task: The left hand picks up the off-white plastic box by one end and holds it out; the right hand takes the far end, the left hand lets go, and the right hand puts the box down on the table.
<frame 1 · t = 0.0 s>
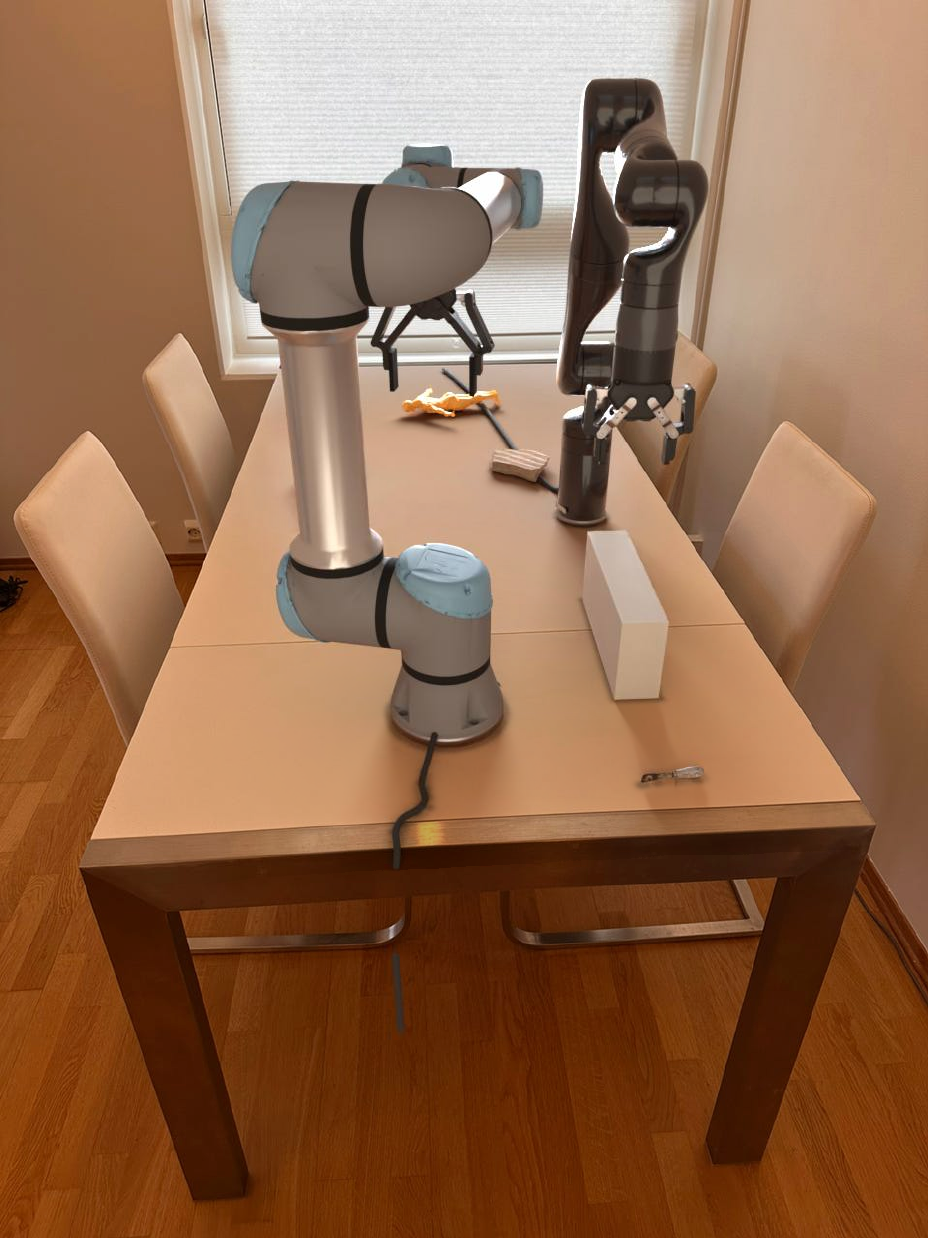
left hand: (433, 391, 149), 28 cm above the table, tool pointing down, fingers open, 13 cm apart
right hand: (632, 462, 119), 29 cm above the table, tool pointing down, fingers open, 8 cm apart
box: (617, 645, 135), on the table
stone: (519, 470, 192), on the table
putty knife: (671, 781, 109), on the table
human figure: (450, 410, 226), on the table
handgun: (337, 489, 184), on the table
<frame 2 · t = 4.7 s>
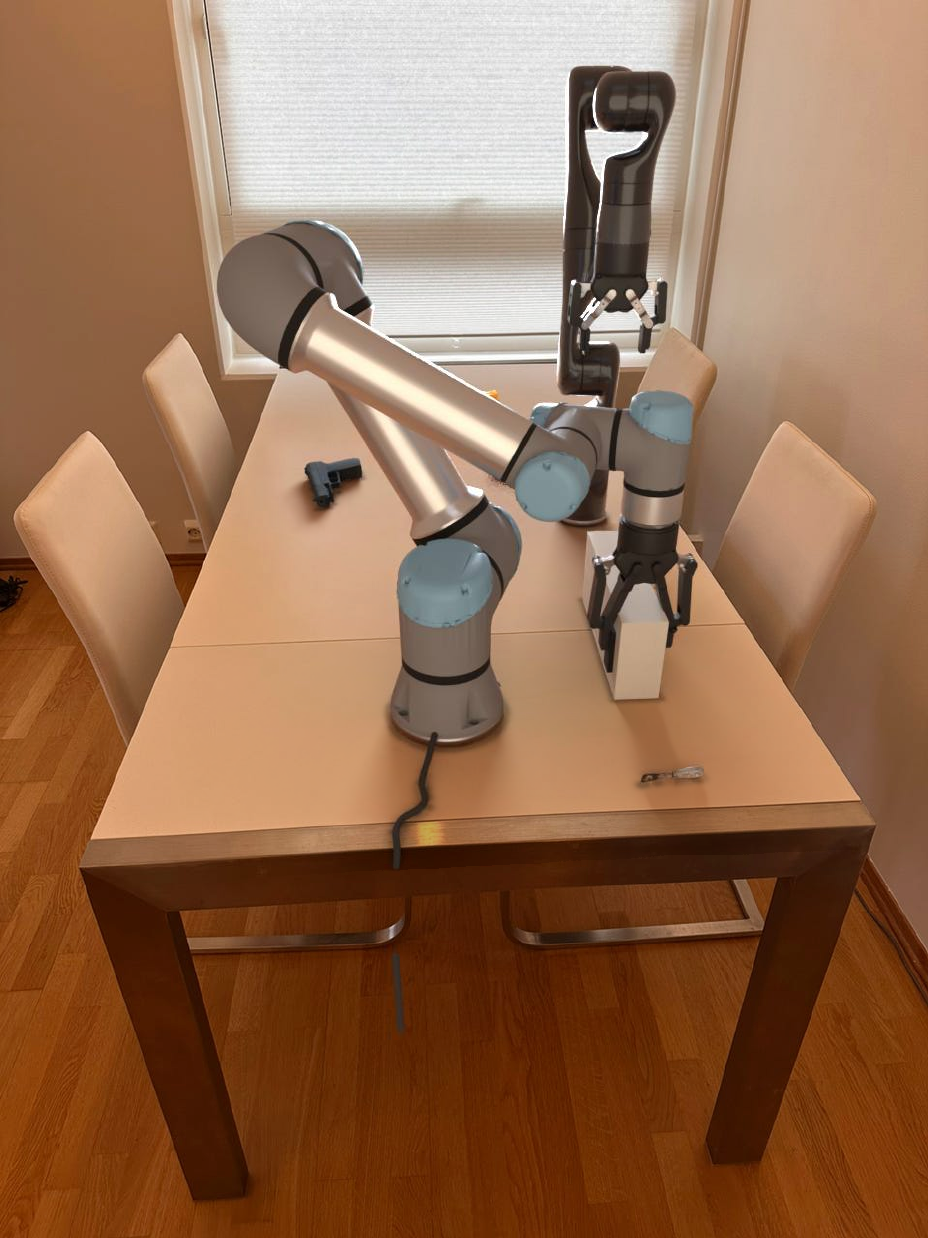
left hand: (632, 666, 125), 3 cm above the table, tool pointing down, fingers closed on box, 6 cm apart
right hand: (613, 352, 134), 38 cm above the table, tool pointing down, fingers open, 8 cm apart
box: (617, 645, 135), on the table, touching left hand
everything else where it was.
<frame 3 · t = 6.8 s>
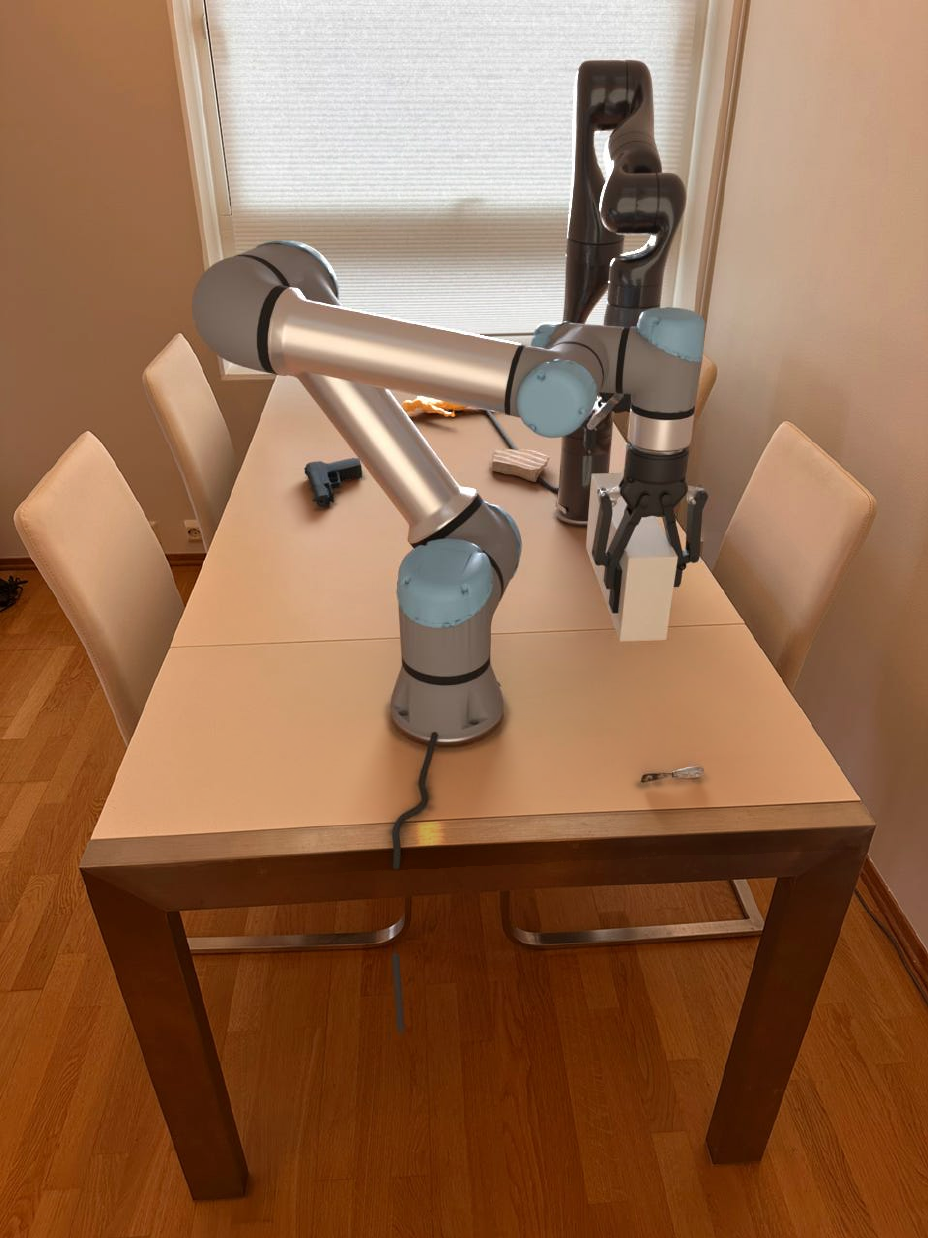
left hand: (639, 607, 120), 13 cm above the table, tool pointing down, fingers closed on box, 6 cm apart
right hand: (620, 451, 129), 27 cm above the table, tool pointing down, fingers open, 8 cm apart
box: (622, 589, 130), point 10 cm above the table, touching left hand
everything else where it was.
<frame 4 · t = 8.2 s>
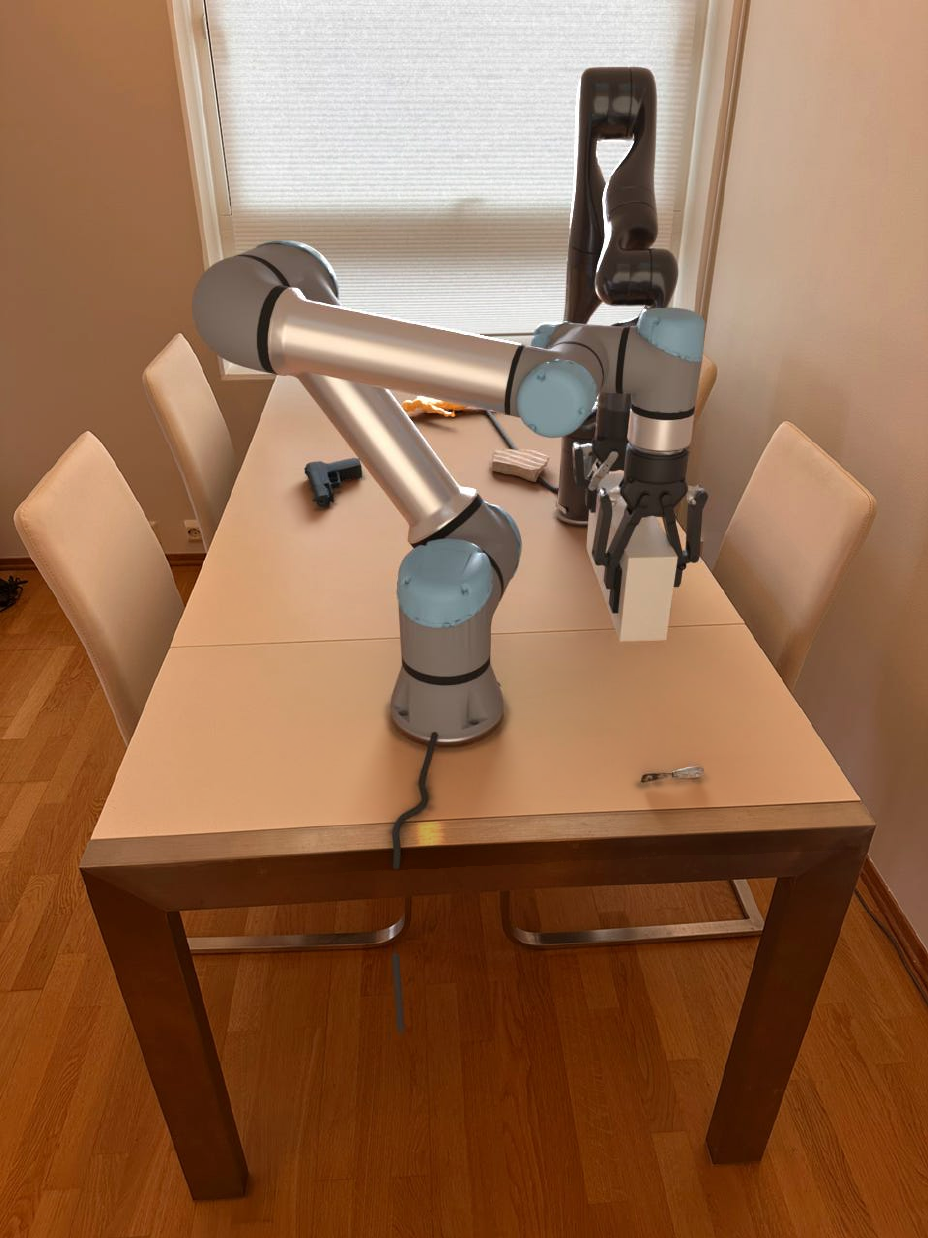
left hand: (639, 607, 120), 13 cm above the table, tool pointing down, fingers closed on box, 6 cm apart
right hand: (614, 509, 134), 18 cm above the table, tool pointing down, fingers closed on box, 6 cm apart
box: (622, 590, 130), point 10 cm above the table, touching left hand, right hand
everything else where it was.
when the left hand's fingers open (13 cm above the table, at t = 9.2 s): box stays where it is, held by the right hand.
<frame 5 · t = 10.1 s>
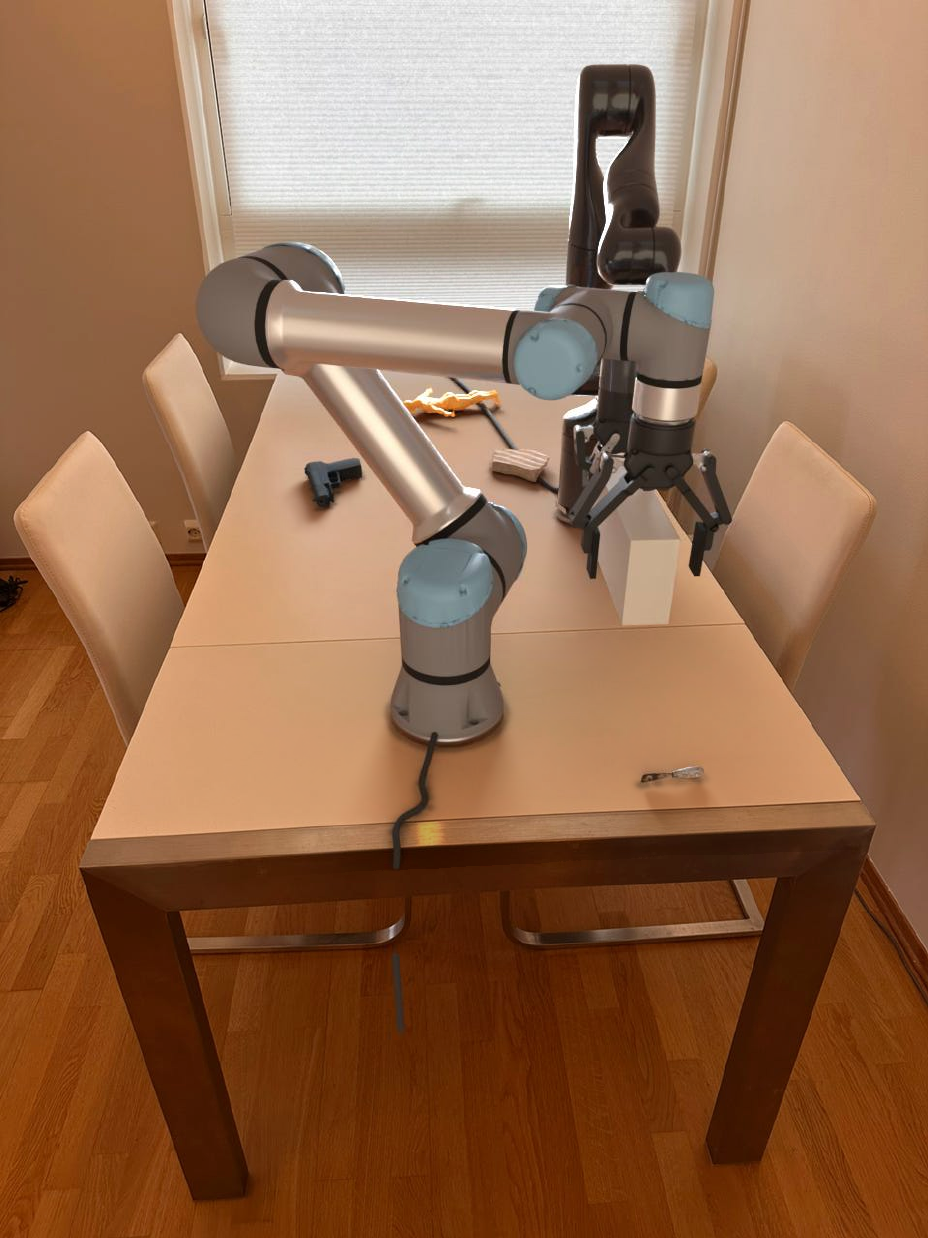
left hand: (642, 572, 116), 18 cm above the table, tool pointing down, fingers open, 13 cm apart
right hand: (616, 493, 132), 20 cm above the table, tool pointing down, fingers closed on box, 6 cm apart
box: (624, 574, 129), point 12 cm above the table, touching right hand
everything else where it was.
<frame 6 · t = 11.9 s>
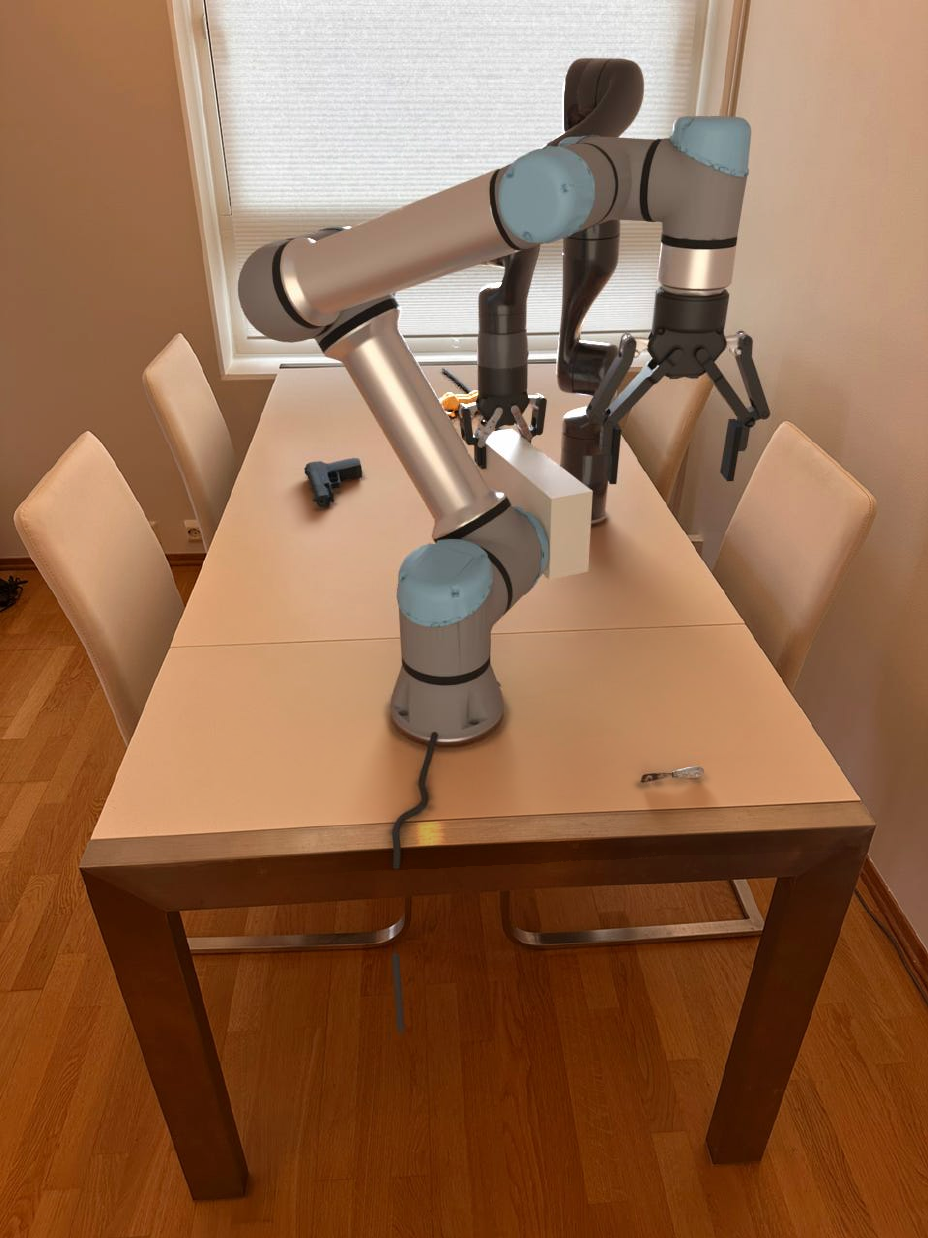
left hand: (668, 478, 104), 34 cm above the table, tool pointing down, fingers open, 13 cm apart
right hand: (502, 464, 142), 21 cm above the table, tool pointing down, fingers closed on box, 6 cm apart
box: (528, 536, 138), point 12 cm above the table, touching left arm, right hand
everything else where it was.
when the right hand's fingers open (9 cm above the table, at t = 15.8 s): box drops 1 cm, on the table.
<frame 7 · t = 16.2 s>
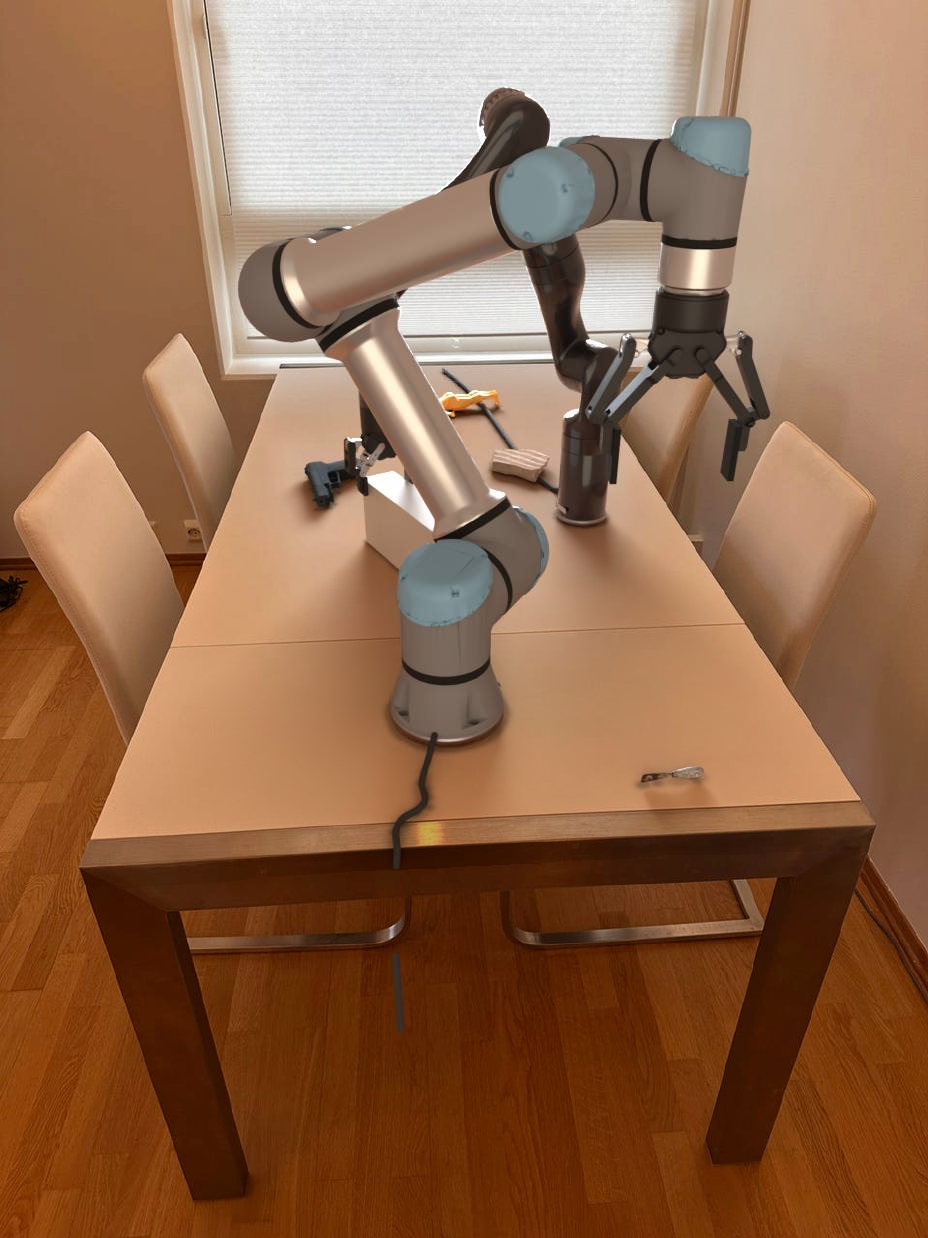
left hand: (669, 478, 104), 34 cm above the table, tool pointing down, fingers open, 13 cm apart
right hand: (387, 489, 157), 11 cm above the table, tool pointing down, fingers open, 8 cm apart
box: (416, 566, 156), on the table
everything else where it was.
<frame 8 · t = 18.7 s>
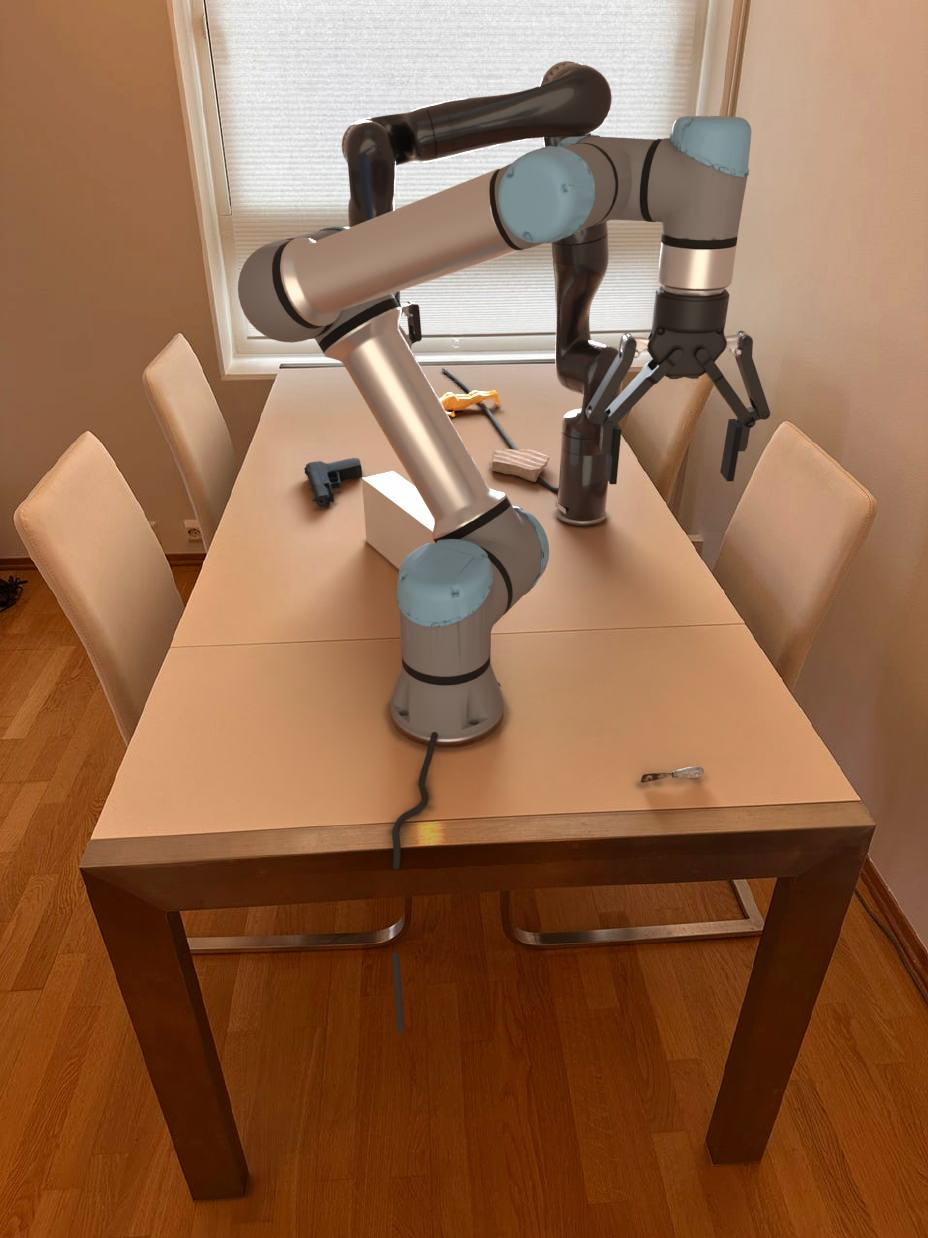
left hand: (669, 478, 104), 34 cm above the table, tool pointing down, fingers open, 13 cm apart
right hand: (380, 372, 146), 32 cm above the table, tool pointing down, fingers open, 8 cm apart
nothing on the table moved.
at the end: box inside the target area (9.8 cm from its centre), on the table; the left hand is holding nothing; the right hand is holding nothing; box at rest at the end (0.0 cm/s) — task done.
